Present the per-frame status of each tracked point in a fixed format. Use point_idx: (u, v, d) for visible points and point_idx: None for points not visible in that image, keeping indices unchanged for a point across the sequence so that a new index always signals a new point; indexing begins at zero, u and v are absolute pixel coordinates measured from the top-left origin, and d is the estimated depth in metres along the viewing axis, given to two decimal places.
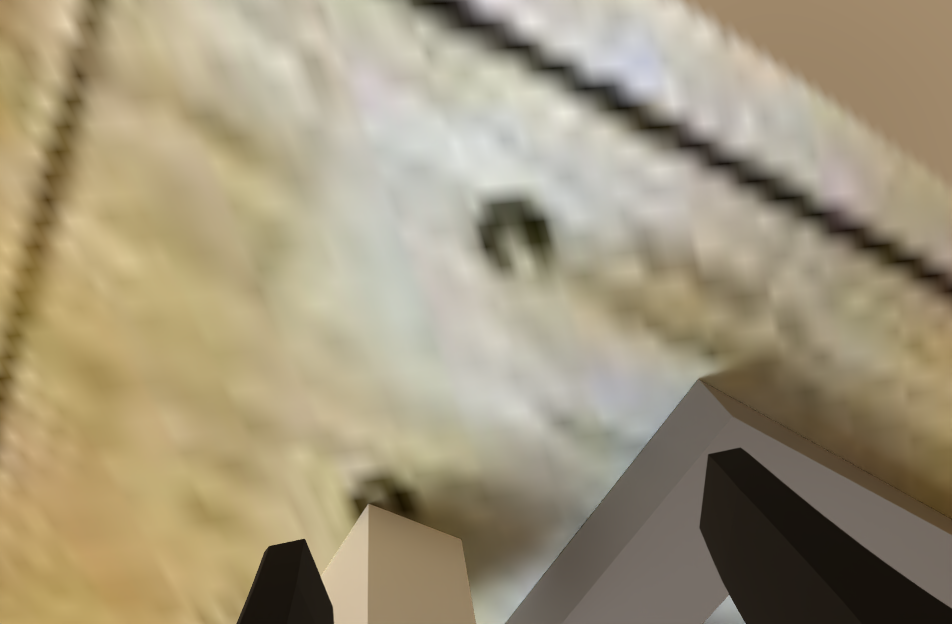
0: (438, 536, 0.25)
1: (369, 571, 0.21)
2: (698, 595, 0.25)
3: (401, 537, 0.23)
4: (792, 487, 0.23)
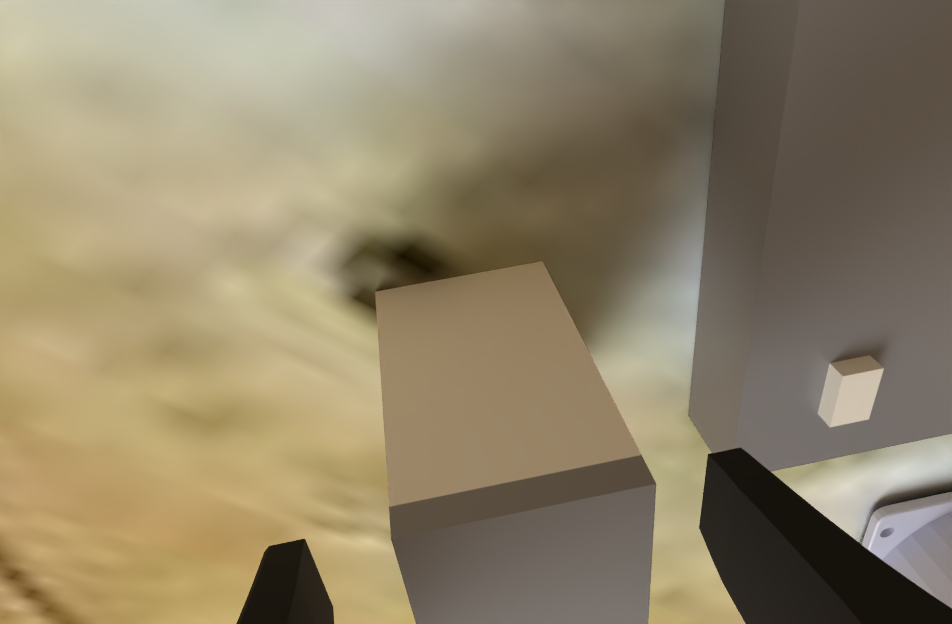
0: (502, 275, 0.15)
1: (383, 378, 0.13)
2: None
3: (436, 306, 0.15)
4: None
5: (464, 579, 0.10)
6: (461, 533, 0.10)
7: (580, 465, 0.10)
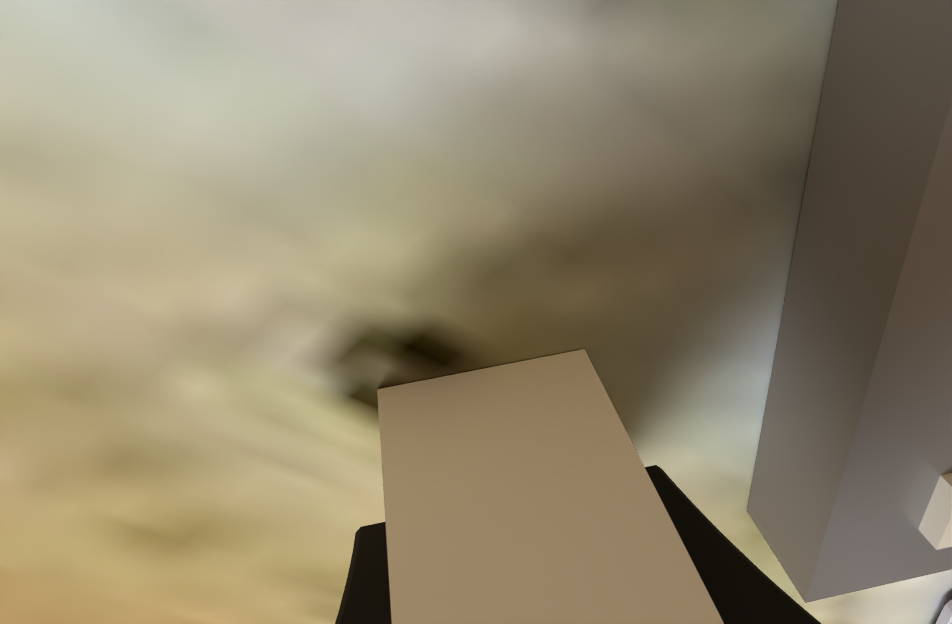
0: (535, 370, 0.12)
1: (389, 530, 0.10)
2: None
3: (455, 415, 0.12)
4: None
5: None
6: None
7: None
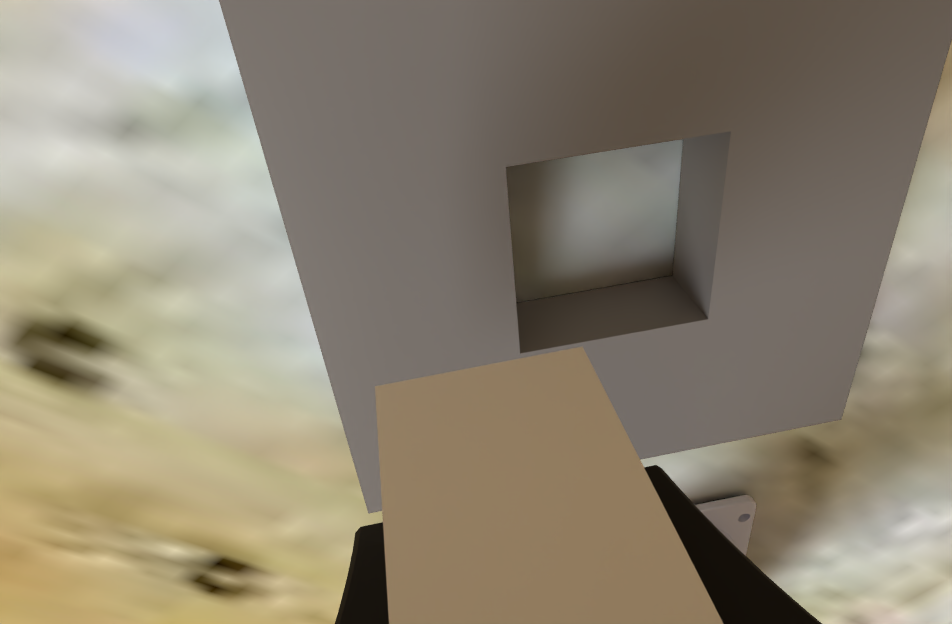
0: (533, 367, 0.12)
1: (387, 527, 0.10)
2: (464, 230, 0.16)
3: (453, 412, 0.12)
4: None
5: None
6: None
7: None
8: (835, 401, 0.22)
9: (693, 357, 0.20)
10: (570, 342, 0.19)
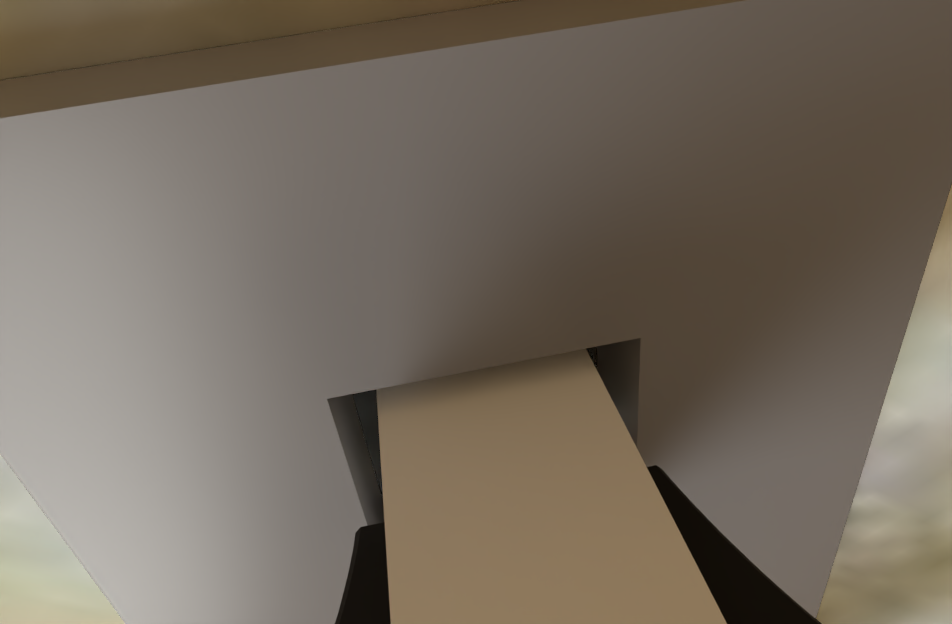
0: (534, 365, 0.12)
1: (388, 525, 0.10)
2: (283, 471, 0.12)
3: (454, 410, 0.11)
4: (163, 190, 0.09)
5: None
6: None
7: None
8: (807, 601, 0.17)
9: None
10: None
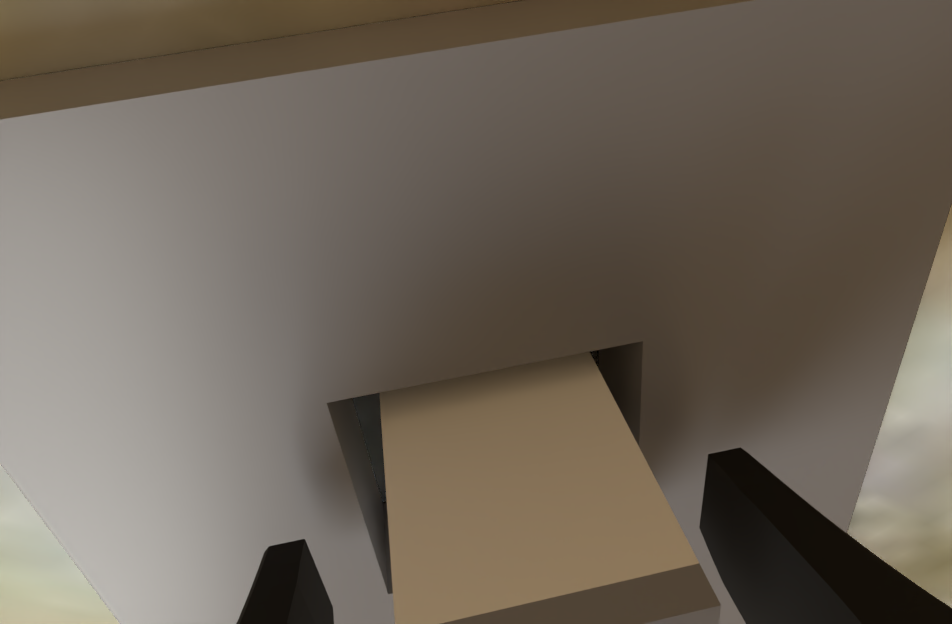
0: None
1: (386, 454, 0.11)
2: (282, 475, 0.12)
3: None
4: (161, 193, 0.09)
5: None
6: None
7: (625, 576, 0.09)
8: None
9: None
10: None
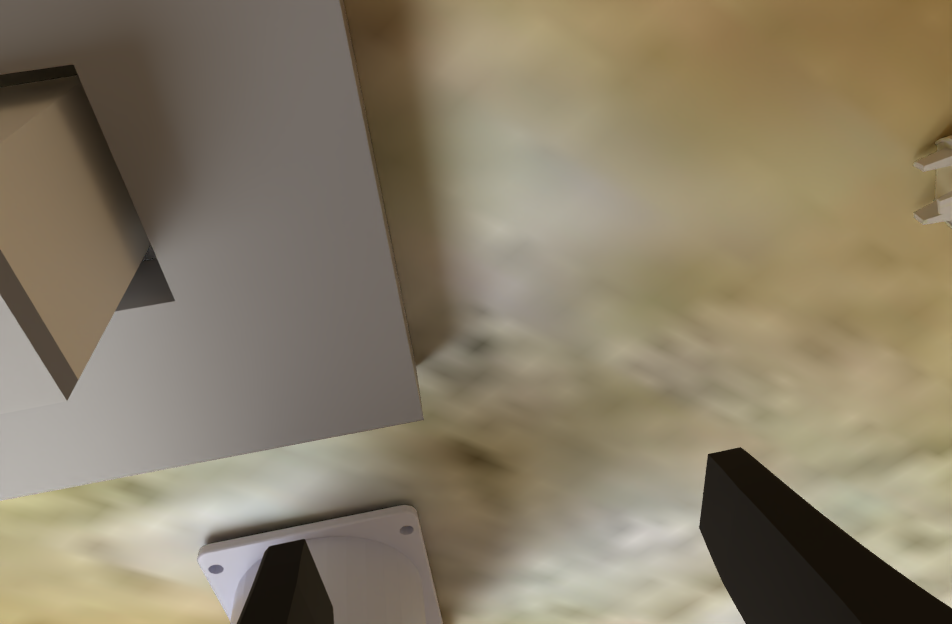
0: (40, 84, 0.15)
1: None
2: None
3: None
4: None
5: None
6: None
7: None
8: (404, 399, 0.19)
9: (181, 347, 0.17)
10: None
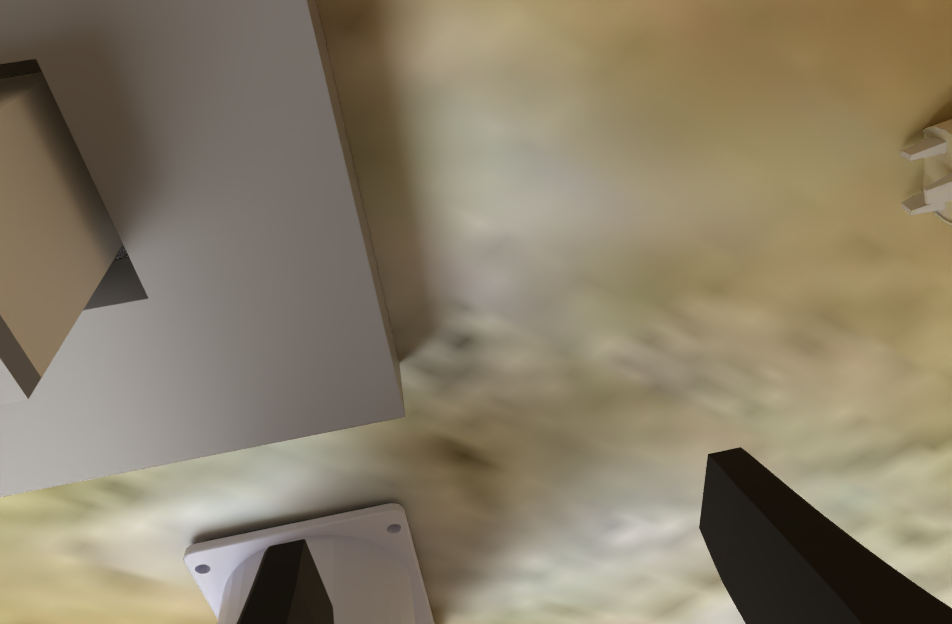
0: (8, 80, 0.15)
1: None
2: None
3: None
4: None
5: None
6: None
7: None
8: (385, 395, 0.18)
9: (156, 345, 0.16)
10: None
